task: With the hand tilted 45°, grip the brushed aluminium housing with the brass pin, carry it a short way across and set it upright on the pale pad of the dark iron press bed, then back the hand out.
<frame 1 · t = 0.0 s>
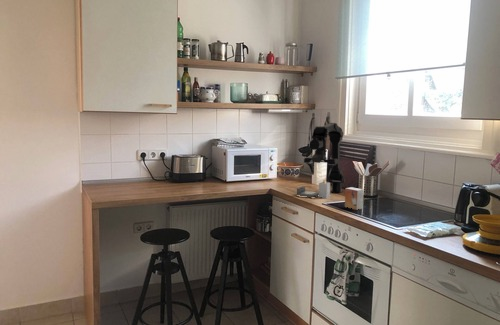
hand: (320, 175, 238), 15 cm above the worktop, tool pointing down, fingers open, 9 cm apart
small box: (353, 208, 222), on the worktop
housing: (324, 197, 248), on the worktop
press bed: (308, 196, 252), on the worktop
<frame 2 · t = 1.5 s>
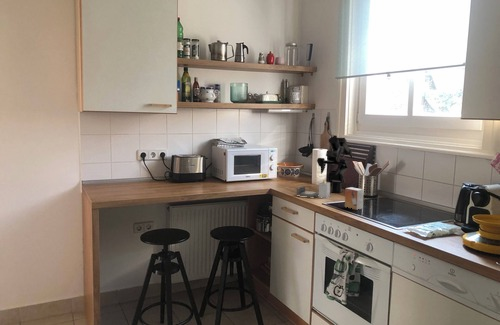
hand: (328, 173, 251), 13 cm above the worktop, tool tilted 45°, fingers open, 9 cm apart
nothing on the worktop moved.
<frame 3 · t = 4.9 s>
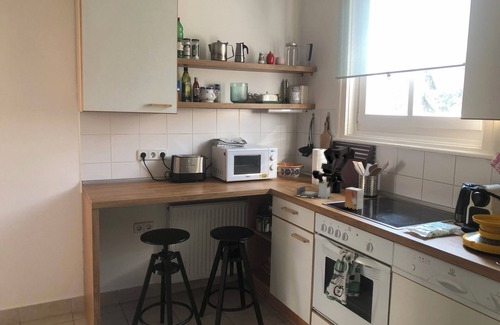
hand: (323, 187, 246), 7 cm above the worktop, tool tilted 45°, fingers closed on housing, 5 cm apart
housing: (324, 197, 248), on the worktop, touching gripper
everything else where it was.
when the fingers open (9 cm above the worktop, at t = 9.4 s): housing stays where it is, resting on press bed.
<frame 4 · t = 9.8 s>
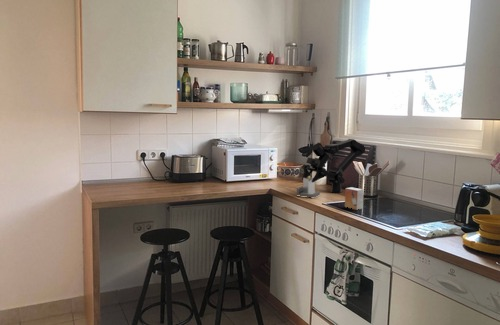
hand: (307, 180, 250), 10 cm above the worktop, tool tilted 45°, fingers open, 9 cm apart
housing: (308, 192, 252), point 2 cm above the worktop, touching press bed
everything else where it was.
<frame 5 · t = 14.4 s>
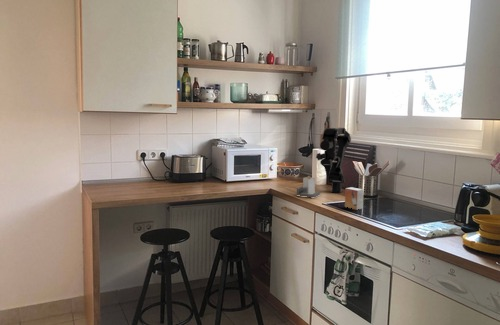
hand: (330, 174, 252), 13 cm above the worktop, tool pointing down, fingers open, 9 cm apart
nothing on the worktop moved.
at the end: housing 0.0 cm off-centre on the press bed, point 2.2 cm above the press bed's base; housing tilted 0°; the gripper is holding nothing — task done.
